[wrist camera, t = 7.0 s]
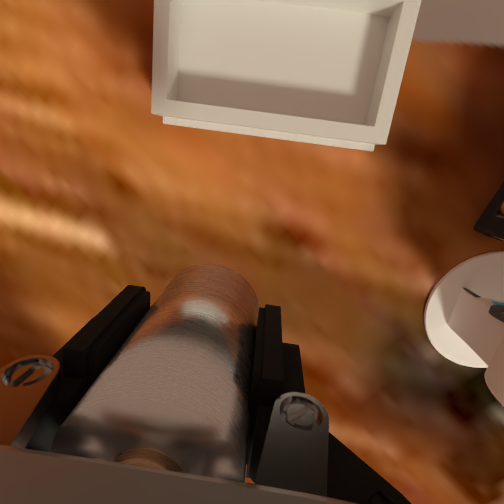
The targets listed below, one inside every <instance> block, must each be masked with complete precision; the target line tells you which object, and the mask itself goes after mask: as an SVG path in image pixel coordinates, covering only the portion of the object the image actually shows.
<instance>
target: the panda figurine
mask: <svg viewBox="0 0 504 504" xmlns="http://www.w3.org/2000/svg"><path fill="white" fill-rule="evenodd" d="M424 326H425V331H426V334H427V336H428V338H429V340H430V342H431V343H432V345H433V346H434V347H435V348H436V350H437V351H438V352H439V353H441V354H442V355H443V356H444V357H446V358H447V359H449V360H451V361H453V362H455V363H458V364H461V365H464V366H469V367H479V368H486V367H488V368H487V370H486V372H485V381H486V383H487V386H488V388H489V389H490V391H491V392H492V394H493V395H494V396H495V397H496V399H497V400H498V401H499V402H500V403H501V404H502V405H503V406H504V251H496V252H489V253H485V254H481V255H478V256H475V257H472V258H470V259H468V260H466V261H464V262H462V263H460V264H459V265H457V266H455V267H454V268H453V269H451V270H450V271H449V272H448V273H446V274H445V275H444V276H443V277H442V278H441V279H440V280H439V282H438V283H437V284H436V285H435V287H434V288H433V290H432V292H431V294H430V295H429V298H428V300H427V303H426V306H425V311H424Z"/></svg>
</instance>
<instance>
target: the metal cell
mask: <svg viewBox="0 0 504 504" xmlns="http://www.w3.org/2000/svg"><path fill="white" fill-rule="evenodd" d="M258 314H259V304H258V300H257V297H256V294H255V292H254V290H253V288H252V287H251V285H250V284H249V283H248V282H247V280H246V279H245V278H244V277H242V276H241V275H240V274H239V273H237V272H235V271H234V270H232V269H230V268H227V267H224V266H221V265H216V264H199V265H194V266H191V267H188V268H186V269H184V270H182V271H181V272H179V273H178V274H177V275H176V276H175V277H174V278H173V279H172V280H171V281H170V282H169V284H168V285H167V286H166V288H165V289H164V290H163V292H162V293H161V294H160V296H159V297H158V298H157V300H156V301H155V302H154V304H153V305H152V306H151V308H150V309H149V310H148V312H147V313H146V314H145V316H144V317H143V318H142V319H141V321H140V322H139V323H138V325H137V326H136V327H135V329H134V330H133V331H132V333H131V334H130V335H129V337H128V338H127V339H126V341H125V342H124V343H123V345H122V346H121V347H120V349H119V350H118V351H117V352H116V354H115V355H114V356H113V358H112V359H111V360H110V362H109V363H108V364H107V366H106V367H105V368H104V370H103V371H102V372H101V374H100V375H99V376H98V378H97V379H96V380H95V382H94V383H93V384H92V386H91V387H90V388H89V389H88V391H87V392H86V393H85V395H84V396H83V397H82V399H81V400H80V401H79V403H78V404H77V405H76V407H75V408H74V409H73V411H72V412H71V413H70V415H69V416H68V417H67V419H66V420H65V421H64V422H63V424H62V425H61V426H60V428H59V429H58V431H57V433H56V434H55V436H54V439H53V442H52V444H51V450H50V452H52V453H59V454H65V455H72V456H78V457H85V458H91V459H98V460H105V461H111V462H118V463H124V464H130V465H137V466H143V467H150V468H156V469H163V470H169V471H175V472H182V473H188V474H194V475H201V476H207V477H213V478H219V479H226V480H232V481H238V482H245V470H246V458H247V446H248V435H249V422H250V413H249V402H250V391H251V381H252V370H253V359H254V348H255V337H256V327H257V320H258Z"/></svg>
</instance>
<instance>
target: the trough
mask: <svg viewBox="0 0 504 504" xmlns="http://www.w3.org/2000/svg"><path fill="white" fill-rule="evenodd" d="M420 4H421V0H154V21H153V63H152V105H151V114H155V115H159V116H163V124H169V125H177V126H184V127H192V128H199V129H207V130H214V131H222V132H229V133H237V134H244V135H252V136H259V137H267V138H274V139H282V140H289V141H297V142H304V143H312V144H320V145H327V146H335V147H342V148H350V149H357V150H365V151H373V150H374V146H375V144H382V145H386V142H387V138H388V134H389V130H390V126H391V122H392V118H393V114H394V109H395V105H396V101H397V97H398V93H399V89H400V85H401V81H402V77H403V73H404V69H405V65H406V61H407V57H408V53H409V49H410V45H411V41H412V36H413V32H414V28H415V24H416V20H417V16H418V12H419V8H420Z"/></svg>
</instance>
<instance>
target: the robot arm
mask: <svg viewBox="0 0 504 504" xmlns="http://www.w3.org/2000/svg"><path fill="white" fill-rule="evenodd" d="M149 309H150V292H148V291H146V289H145V287H140V286H133V285H128V286H127V287H126V288H125V289H124V290H123V291H122V292H121V293H119V294H118V295H117V296H116V297H115V298H114V299H113V300H112V301H111V302H110V303H109V304H108V305H107V306H106V307H105V308H104V309H103V310H102V311H101V312H100V313H99V314H98V315H97V316H95V317H94V318H92V319H91V320H90V321H89V322H88V323H87V324H86V325H85V326H84V327H83V328H82V329H81V330H80V331H79V332H78V333H77V334H75V335H74V336H73V337H72V338H71V339H70V340H69V341H68V342H67V343H66V344H65V345H64V346H63V347H62V348H61V349H60V350H59V351H58V352H57V353H56V354H55V355H53V356H49V355H30V356H26V357H22V358H19V359H16V360H14V361H12V362H10V363H8V364H6V365H5V366H3V367H2V368H1V369H0V504H411V503H410V502H409V501H408V500H407V499H406V498H405V497H404V496H403V495H402V494H401V493H400V492H399V491H398V490H396V489H395V488H394V487H393V486H392V485H391V484H389V483H388V482H387V481H386V480H385V479H384V478H382V477H381V476H380V475H379V474H378V473H376V472H375V471H374V470H373V469H372V468H371V467H369V466H368V465H367V464H366V463H365V462H364V461H362V460H361V459H360V458H359V457H358V456H356V455H355V454H354V453H353V452H352V451H351V450H349V449H348V448H347V447H346V446H345V445H344V444H342V443H341V442H340V441H339V440H338V439H336V438H335V437H334V436H333V435H332V434H331V433H329V416H328V413H327V411H326V409H325V407H324V406H323V405H322V404H321V403H320V402H319V401H318V400H317V399H315V398H313V397H312V396H310V395H307V394H305V387H304V380H303V372H302V364H301V357H300V349H299V345H295V344H288V343H282V327H281V307H280V306H273V305H265V308H259V314H258V320H257V327H256V337H255V348H254V359H253V370H252V381H251V391H250V402H249V413H250V422H249V435H248V446H247V458H246V464H247V473H246V477H247V478H251V479H252V481H253V482H254V484H251V483H244V482H238V481H232V480H226V479H219V478H213V477H207V476H201V475H194V474H188V473H182V472H175V471H169V470H163V469H156V468H150V467H143V466H137V465H130V464H124V463H118V462H111V461H105V460H98V459H91V458H85V457H78V456H72V455H65V454H59V453H52V452H50V450H51V444H52V442H53V439H54V436H55V434H56V433H57V431H58V429H59V428H60V426H61V425H62V424H63V422H64V421H65V420H66V419H67V417H68V416H69V415H70V413H71V412H72V411H73V409H74V408H75V407H76V405H77V404H78V403H79V401H80V400H81V399H82V397H83V396H84V395H85V393H86V392H87V391H88V389H89V388H90V387H91V386H92V384H93V383H94V382H95V380H96V379H97V378H98V376H99V375H100V374H101V372H102V371H103V370H104V368H105V367H106V366H107V364H108V363H109V362H110V360H111V359H112V358H113V356H114V355H115V354H116V352H117V351H118V350H119V349H120V347H121V346H122V345H123V343H124V342H125V341H126V339H127V338H128V337H129V335H130V334H131V333H132V331H133V330H134V329H135V327H136V326H137V325H138V323H139V322H140V321H141V319H142V318H143V317H144V316H145V314H146V313H147V312H148V310H149Z"/></svg>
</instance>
